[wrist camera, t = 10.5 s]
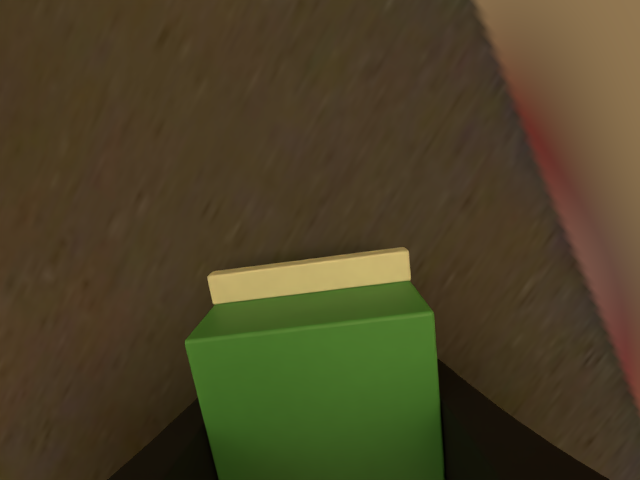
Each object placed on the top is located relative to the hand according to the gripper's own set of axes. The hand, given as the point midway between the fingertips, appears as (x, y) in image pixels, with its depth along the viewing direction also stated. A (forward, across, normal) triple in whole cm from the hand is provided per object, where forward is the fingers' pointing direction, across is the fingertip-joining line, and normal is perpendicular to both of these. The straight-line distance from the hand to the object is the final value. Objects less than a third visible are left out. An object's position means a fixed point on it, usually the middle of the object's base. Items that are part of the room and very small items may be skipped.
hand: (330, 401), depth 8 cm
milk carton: (+1, 0, 0) cm, 1 cm away
